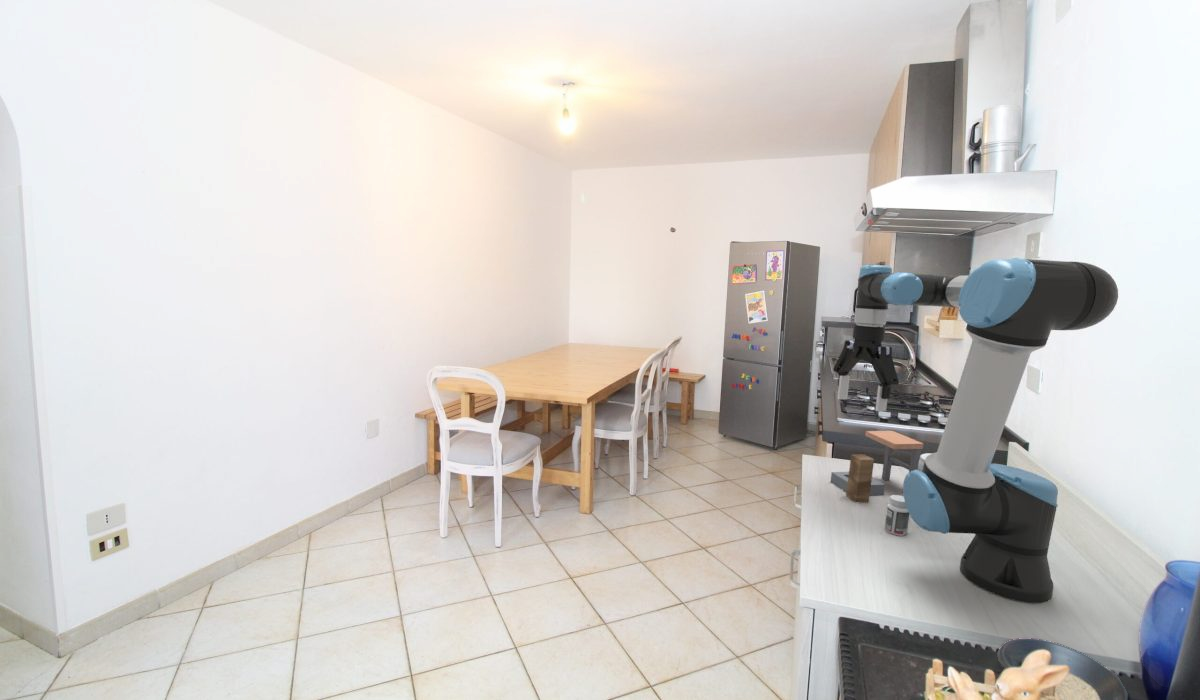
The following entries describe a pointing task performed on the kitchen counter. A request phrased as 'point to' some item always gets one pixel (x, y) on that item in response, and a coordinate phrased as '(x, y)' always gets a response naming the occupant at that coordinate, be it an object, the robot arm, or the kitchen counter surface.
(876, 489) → the socket block
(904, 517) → the pill bottle
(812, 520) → the kitchen counter surface
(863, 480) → the peg
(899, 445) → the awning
